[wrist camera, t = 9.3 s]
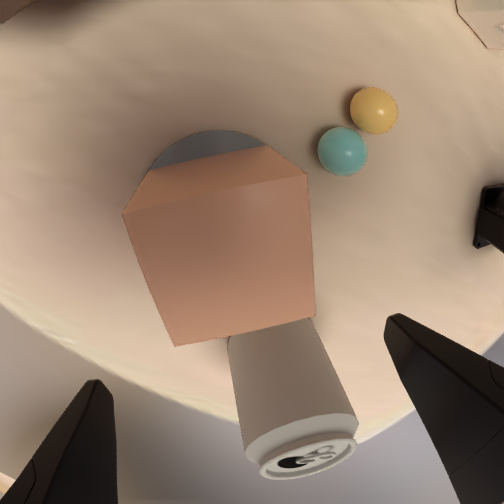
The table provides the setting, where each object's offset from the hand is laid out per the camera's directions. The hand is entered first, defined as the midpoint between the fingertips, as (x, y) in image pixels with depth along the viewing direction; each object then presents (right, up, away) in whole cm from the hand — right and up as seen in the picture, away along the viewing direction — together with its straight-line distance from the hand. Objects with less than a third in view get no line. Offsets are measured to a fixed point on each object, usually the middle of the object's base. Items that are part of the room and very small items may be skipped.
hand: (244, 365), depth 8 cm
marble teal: (+5, +10, +10) cm, 15 cm away
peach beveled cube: (-2, +6, +10) cm, 12 cm away
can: (+2, -4, +17) cm, 17 cm away
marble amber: (+7, +12, +9) cm, 17 cm away
